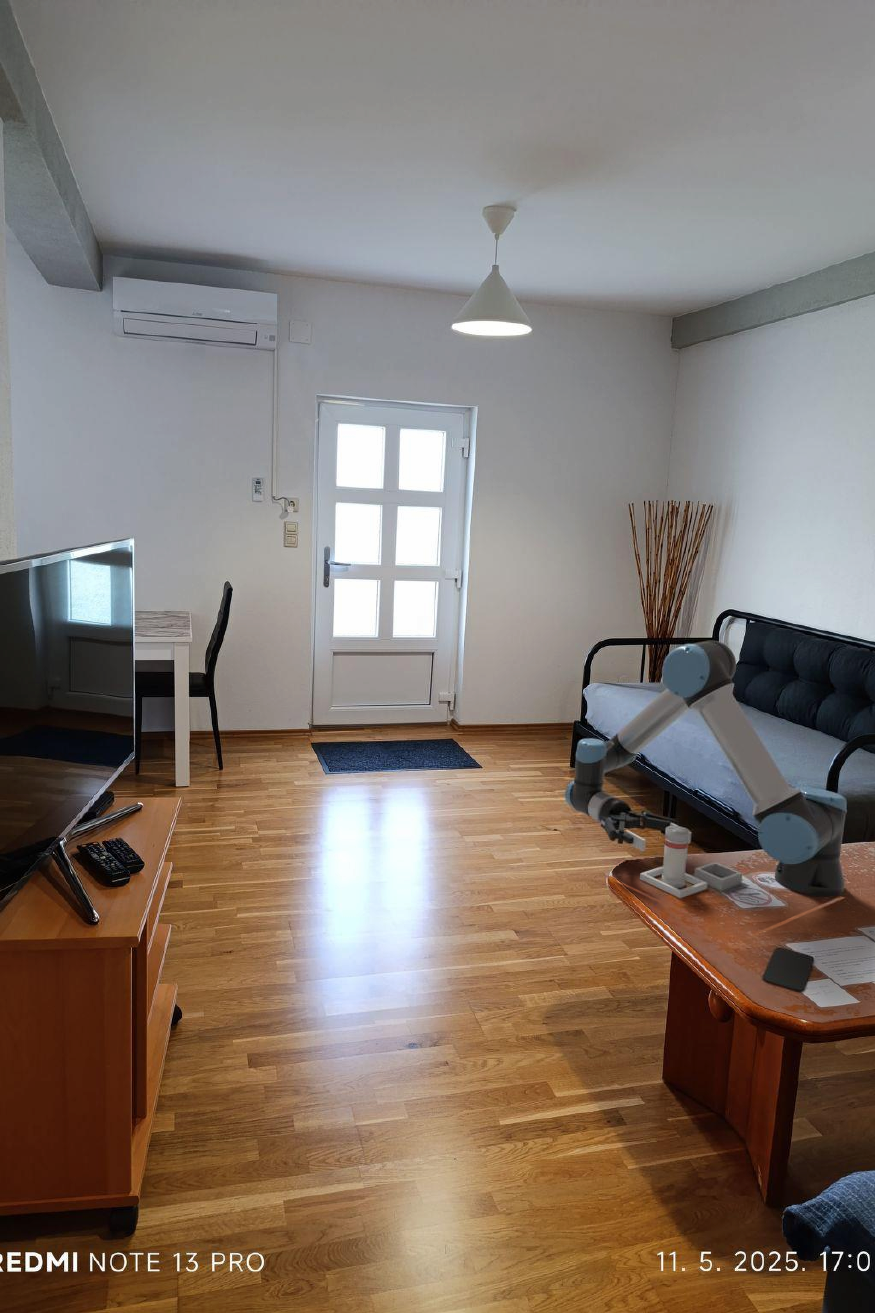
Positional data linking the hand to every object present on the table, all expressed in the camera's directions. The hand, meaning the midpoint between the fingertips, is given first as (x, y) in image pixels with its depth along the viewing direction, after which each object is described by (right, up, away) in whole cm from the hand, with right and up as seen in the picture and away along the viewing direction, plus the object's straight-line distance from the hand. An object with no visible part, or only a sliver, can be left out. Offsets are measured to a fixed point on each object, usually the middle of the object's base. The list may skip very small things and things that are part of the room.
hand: (667, 842), depth 208 cm
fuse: (+1, -9, -1) cm, 10 cm away
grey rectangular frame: (+1, -10, -1) cm, 10 cm away
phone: (+14, -18, -36) cm, 42 cm away
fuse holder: (+12, -10, +2) cm, 16 cm away
